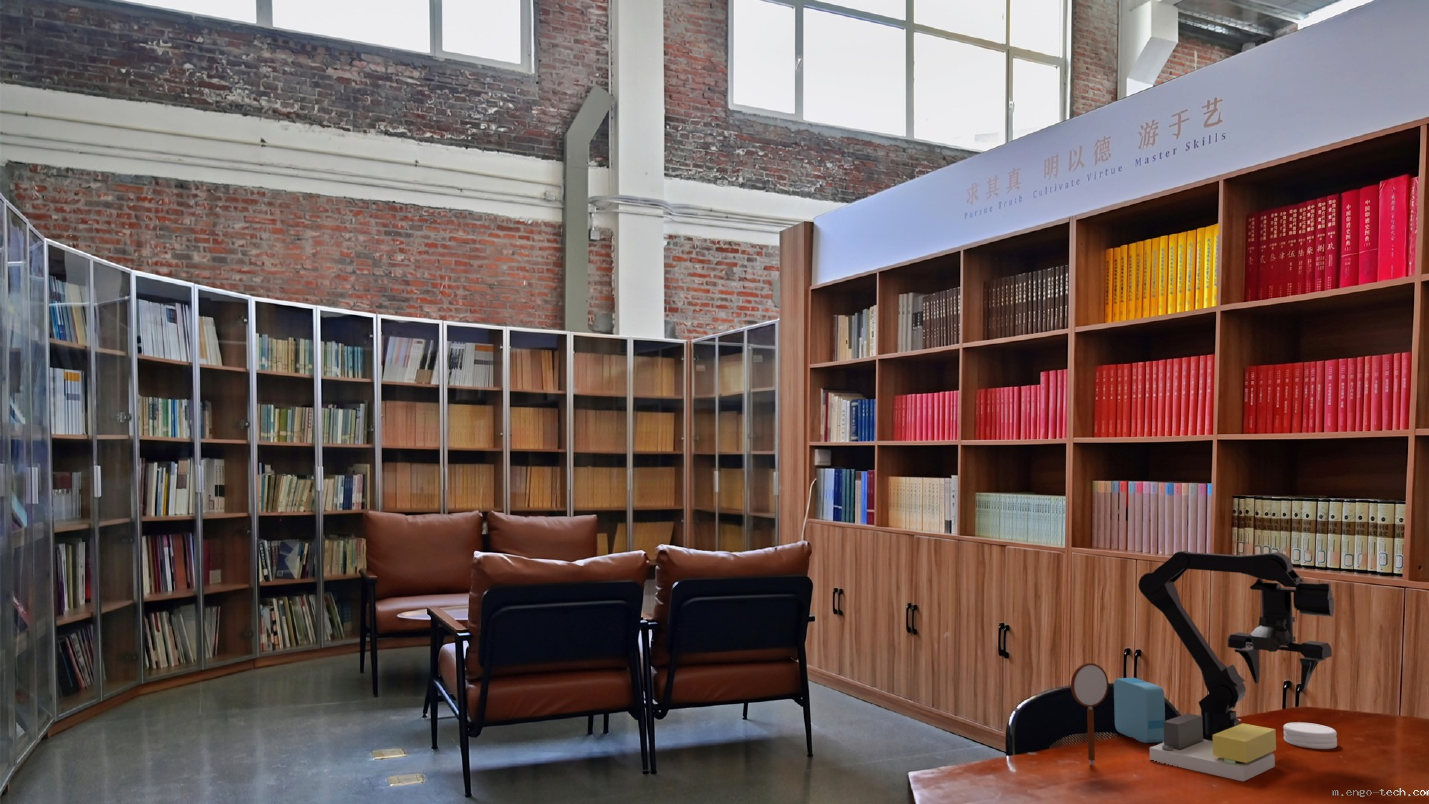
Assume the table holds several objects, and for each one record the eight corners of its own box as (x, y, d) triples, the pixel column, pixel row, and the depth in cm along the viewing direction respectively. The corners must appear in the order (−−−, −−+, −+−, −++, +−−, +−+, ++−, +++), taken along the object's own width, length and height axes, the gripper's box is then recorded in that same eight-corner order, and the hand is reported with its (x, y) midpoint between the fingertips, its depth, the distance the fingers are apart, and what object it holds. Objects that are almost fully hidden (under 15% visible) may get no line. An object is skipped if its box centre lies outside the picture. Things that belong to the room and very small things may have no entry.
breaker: (1164, 748, 201) (1163, 721, 202) (1188, 738, 208) (1187, 713, 209) (1179, 751, 199) (1178, 724, 199) (1203, 741, 206) (1202, 715, 207)
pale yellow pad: (1213, 755, 193) (1212, 734, 193) (1243, 743, 202) (1242, 723, 202) (1246, 763, 188) (1246, 741, 188) (1276, 749, 197) (1275, 729, 197)
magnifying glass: (1106, 761, 199) (1104, 661, 201) (1112, 764, 198) (1109, 662, 199) (1070, 765, 197) (1068, 663, 198) (1076, 768, 195) (1073, 664, 196)
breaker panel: (1149, 760, 200) (1149, 744, 200) (1183, 747, 210) (1182, 732, 210) (1243, 781, 187) (1242, 764, 187) (1274, 766, 196) (1274, 750, 197)
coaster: (1286, 735, 221) (1285, 719, 221) (1339, 742, 215) (1338, 726, 215) (1281, 745, 213) (1280, 728, 213) (1335, 752, 207) (1334, 735, 207)
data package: (1166, 744, 213) (1164, 687, 214) (1147, 745, 212) (1146, 688, 213) (1132, 730, 225) (1130, 676, 225) (1114, 731, 224) (1113, 677, 225)
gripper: (1215, 610, 213) (1217, 684, 212) (1310, 620, 199) (1313, 699, 198) (1237, 606, 220) (1240, 677, 219) (1331, 615, 206) (1334, 692, 205)
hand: (1279, 686), depth 210 cm, fingers open, 9 cm apart
